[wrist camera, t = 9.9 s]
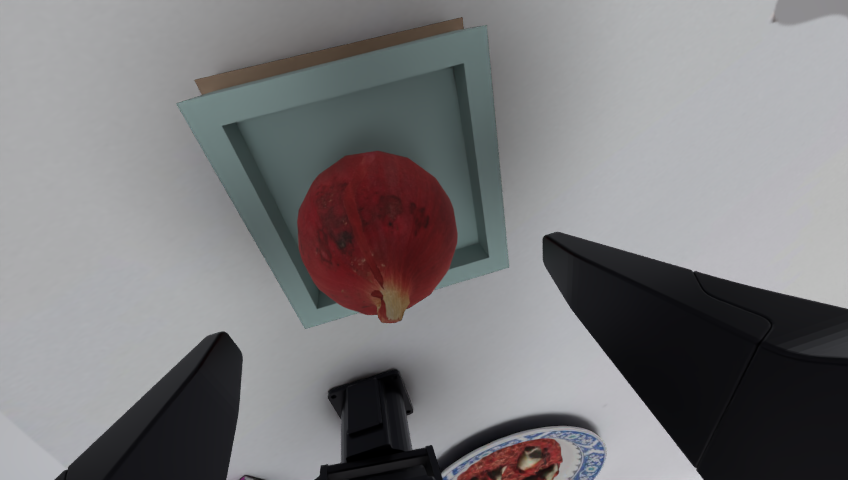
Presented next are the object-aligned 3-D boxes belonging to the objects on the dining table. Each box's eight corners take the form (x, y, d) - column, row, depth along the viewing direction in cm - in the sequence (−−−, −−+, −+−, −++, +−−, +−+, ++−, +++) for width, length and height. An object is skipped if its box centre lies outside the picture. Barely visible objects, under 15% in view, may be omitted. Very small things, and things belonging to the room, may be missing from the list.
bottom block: (469, 214, 24) (487, 237, 21) (307, 260, 23) (302, 290, 21) (443, 22, 18) (462, 17, 15) (220, 74, 17) (194, 79, 14)
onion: (280, 183, 15) (219, 302, 8) (385, 102, 14) (419, 159, 7) (363, 266, 18) (372, 405, 11) (454, 204, 17) (525, 312, 10)
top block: (482, 232, 21) (509, 267, 18) (311, 282, 20) (304, 329, 17) (455, 30, 15) (486, 25, 12) (215, 90, 15) (176, 103, 11)
